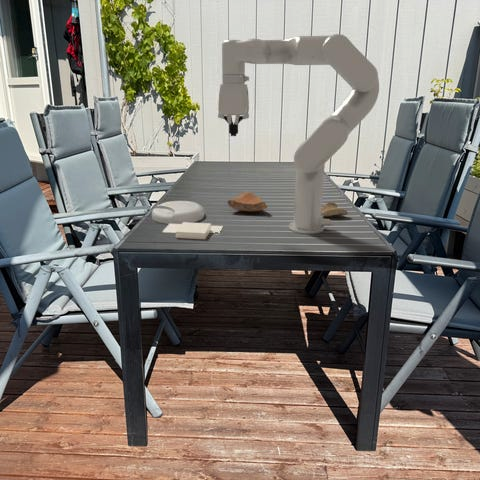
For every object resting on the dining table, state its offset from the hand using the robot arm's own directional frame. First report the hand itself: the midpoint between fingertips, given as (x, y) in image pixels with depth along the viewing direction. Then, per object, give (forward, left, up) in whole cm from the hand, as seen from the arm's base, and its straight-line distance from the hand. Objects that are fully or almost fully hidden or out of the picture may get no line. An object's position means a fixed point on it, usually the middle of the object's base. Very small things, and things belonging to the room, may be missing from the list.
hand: (233, 135), depth 159 cm
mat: (+13, +16, -32) cm, 38 cm away
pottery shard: (-39, -12, -32) cm, 52 cm away
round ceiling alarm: (+23, -5, -35) cm, 42 cm away
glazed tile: (+7, +16, -30) cm, 35 cm away
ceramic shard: (-12, -16, -31) cm, 37 cm away
